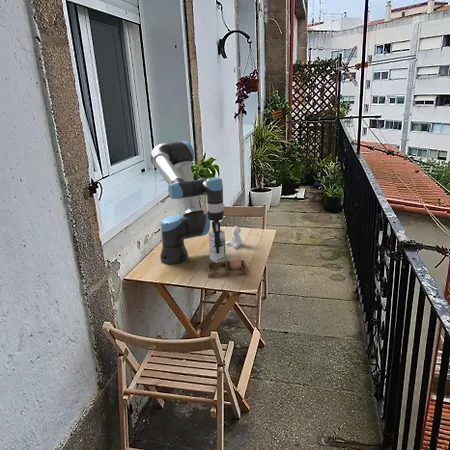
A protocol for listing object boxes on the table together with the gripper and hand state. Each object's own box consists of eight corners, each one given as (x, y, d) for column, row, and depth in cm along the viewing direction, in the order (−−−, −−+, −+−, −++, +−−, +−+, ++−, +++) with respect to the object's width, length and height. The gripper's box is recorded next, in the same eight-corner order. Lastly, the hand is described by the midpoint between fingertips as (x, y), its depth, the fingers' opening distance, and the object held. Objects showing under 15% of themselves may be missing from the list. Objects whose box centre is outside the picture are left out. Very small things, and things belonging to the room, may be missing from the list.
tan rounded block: (230, 273, 185) (230, 261, 184) (229, 268, 191) (229, 257, 189) (242, 272, 186) (241, 261, 184) (240, 267, 191) (240, 256, 189)
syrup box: (216, 263, 182) (215, 234, 177) (209, 259, 186) (208, 231, 181) (225, 259, 185) (225, 232, 180) (218, 256, 189) (217, 228, 185)
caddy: (208, 279, 182) (208, 272, 181) (207, 268, 193) (207, 262, 192) (247, 276, 183) (247, 270, 182) (244, 266, 195) (244, 260, 193)
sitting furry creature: (224, 244, 223) (224, 225, 219) (235, 241, 228) (235, 222, 224) (234, 249, 216) (234, 229, 212) (246, 245, 221) (245, 226, 217)
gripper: (225, 216, 168) (226, 263, 175) (221, 204, 187) (223, 247, 195) (208, 217, 167) (210, 264, 175) (206, 205, 187) (208, 248, 194)
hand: (217, 255), depth 185 cm, fingers closed on syrup box, 8 cm apart
